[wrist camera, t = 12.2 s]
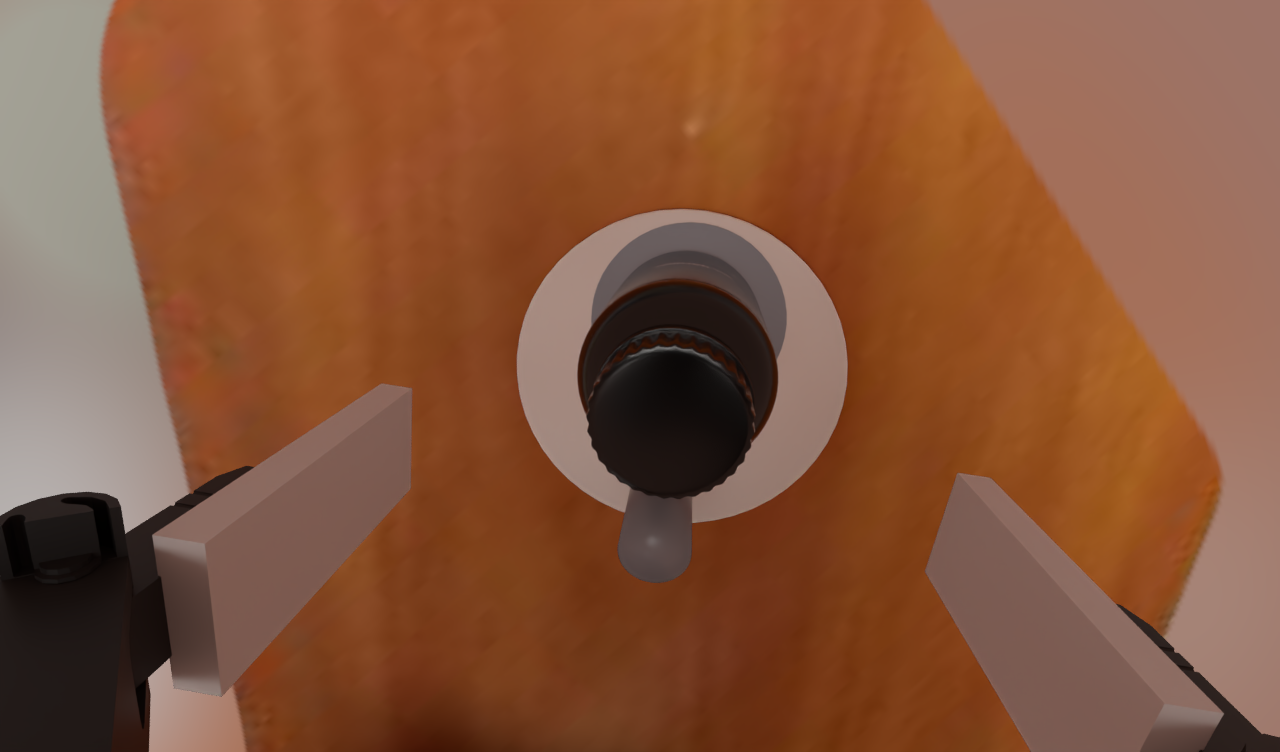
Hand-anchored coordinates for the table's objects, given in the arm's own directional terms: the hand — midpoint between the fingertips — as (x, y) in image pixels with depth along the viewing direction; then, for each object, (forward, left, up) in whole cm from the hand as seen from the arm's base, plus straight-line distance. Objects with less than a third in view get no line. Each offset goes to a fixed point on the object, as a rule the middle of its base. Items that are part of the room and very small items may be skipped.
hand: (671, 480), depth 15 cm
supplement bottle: (0, 0, -15) cm, 15 cm away
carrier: (-3, 0, -16) cm, 16 cm away
